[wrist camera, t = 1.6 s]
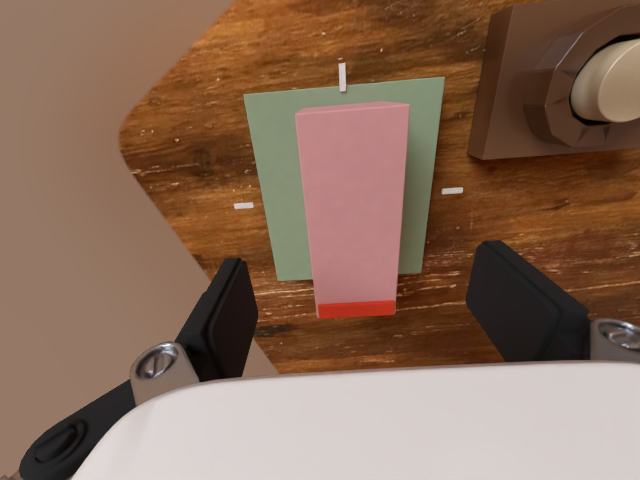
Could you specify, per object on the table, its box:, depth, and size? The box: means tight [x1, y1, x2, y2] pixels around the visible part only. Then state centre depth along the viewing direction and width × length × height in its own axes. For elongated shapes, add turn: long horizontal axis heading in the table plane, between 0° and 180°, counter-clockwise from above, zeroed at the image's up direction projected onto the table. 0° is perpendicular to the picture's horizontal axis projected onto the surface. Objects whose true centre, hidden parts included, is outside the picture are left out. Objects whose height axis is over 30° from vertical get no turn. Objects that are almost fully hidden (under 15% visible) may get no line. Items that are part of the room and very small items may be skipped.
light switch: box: [467, 0, 640, 160], centre depth 16 cm, size 8×10×4 cm
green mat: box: [234, 63, 463, 281], centre depth 20 cm, size 16×16×2 cm
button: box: [571, 39, 640, 122], centre depth 14 cm, size 4×4×2 cm
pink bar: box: [295, 101, 410, 319], centre depth 17 cm, size 12×5×6 cm, turn 4°
